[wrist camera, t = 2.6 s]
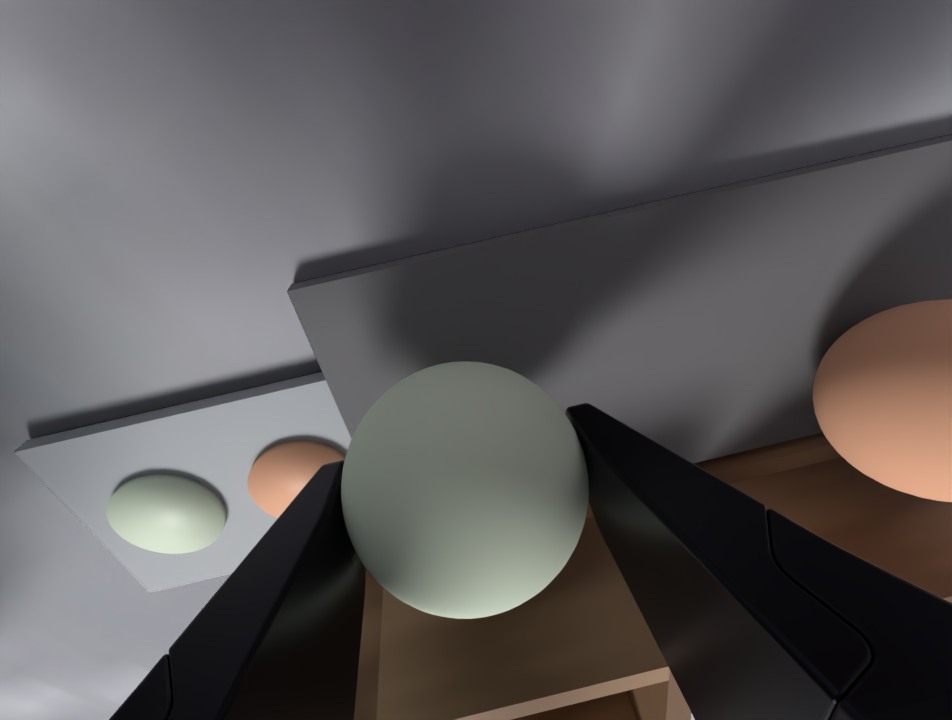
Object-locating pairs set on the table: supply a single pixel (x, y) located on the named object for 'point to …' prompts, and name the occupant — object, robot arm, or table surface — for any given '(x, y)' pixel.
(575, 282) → the mat
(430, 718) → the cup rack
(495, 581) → the ball sage
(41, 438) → the card
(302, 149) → the table surface
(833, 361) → the ball terracotta
